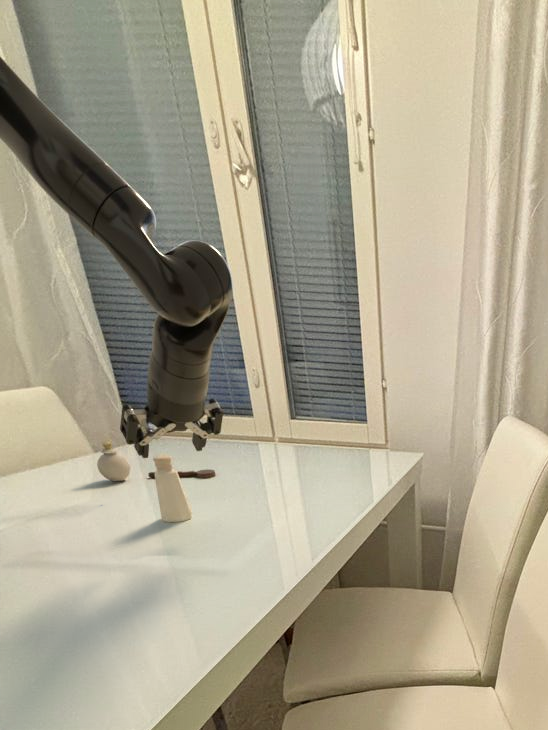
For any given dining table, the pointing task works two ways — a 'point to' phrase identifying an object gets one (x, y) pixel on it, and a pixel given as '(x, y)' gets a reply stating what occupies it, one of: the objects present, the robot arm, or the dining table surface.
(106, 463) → the ornament
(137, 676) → the dining table surface
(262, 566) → the dining table surface
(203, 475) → the walnut spoon
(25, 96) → the robot arm
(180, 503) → the salt shaker
